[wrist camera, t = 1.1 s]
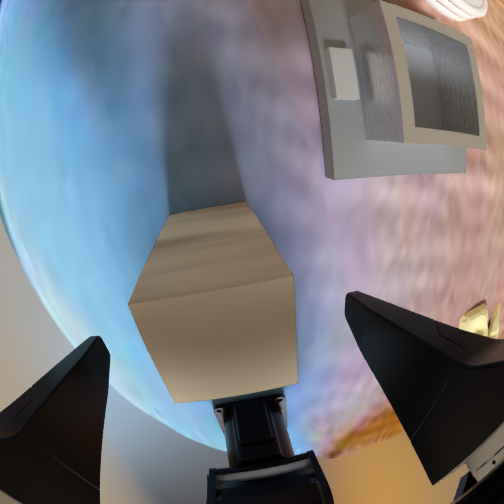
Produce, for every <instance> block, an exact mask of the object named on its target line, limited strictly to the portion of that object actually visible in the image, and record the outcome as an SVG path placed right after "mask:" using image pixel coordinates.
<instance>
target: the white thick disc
mask: <svg viewBox="0 0 504 504" xmlns="http://www.w3.org/2000/svg"><path fill="white" fill-rule="evenodd" d="M424 1H425V2H426V3H428V4H429V5H430V6H431V7H432V8H434V9H435V10H436V11H438V12H439V13H441V14H442V15H444V16H446V17H447V18H450V19H452V20H456V21H465V20H467V19H473V18H475V17H478V18H479V17H483V16H484V15H485V14H486V13H487V0H424Z"/></svg>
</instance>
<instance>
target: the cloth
mask: <svg viewBox="0 0 504 504" xmlns="http://www.w3.org/2000/svg"><path fill="white" fill-rule="evenodd" d="M501 303H502V302H501ZM501 303H499V304H498V305H497V306H496V308H495V310H494V312H493V314H492V316H491V319H490V326H489V328H488V323H487V322H488V309H487V307H486V304H485V303H483V304H481V305H480V306H477V307H476V308H474V309H472V310H470V311H468V312H467V313H465V314H464V315H463V316H462V318H461V320H460V324H459V329H462V330H465V331H469V332H472V333H476V334H479V335H483V336H487V337H490V338H494V339H497V337H498V332H499V315H500V309H501Z"/></svg>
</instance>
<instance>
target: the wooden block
mask: <svg viewBox="0 0 504 504" xmlns="http://www.w3.org/2000/svg"><path fill="white" fill-rule="evenodd" d="M128 306H129V308H130V311H131V313H132V316H133V318H134V320H135V323H136V325H137V327H138V330H139V332H140V334H141V336H142V339H143V341H144V343H145V345H146V347H147V349H148V352H149V354H150V356H151V358H152V360H153V362H154V364H155V366H156V368H157V370H158V372H159V374H160V376H161V378H162V380H163V381H164V383H165V385H166V387H167V389H168V391H169V393H170V394H171V396H172V398H173V400H174V401H175V403H185V402H195V401H204V400H212V399H219V398H226V397H232V396H238V395H244V394H250V393H255V392H260V391H265V390H270V389H275V388H279V387H284V386H288V385H292V384H296V383H298V374H297V339H296V315H295V295H294V278H293V274H292V273H291V271H290V270H289V268H288V266H287V265H286V263H285V261H284V260H283V258H282V257H281V255H280V253H279V252H278V250H277V249H276V247H275V245H274V244H273V242H272V240H271V239H270V237H269V236H268V234H267V232H266V231H265V229H264V228H263V226H262V225H261V223H260V221H259V220H258V218H257V217H256V215H255V213H254V212H253V210H252V209H251V207H250V206H249V204H248V202H247V201H244V202H238V203H232V204H226V205H220V206H214V207H208V208H203V209H197V210H192V211H187V212H181V213H176V214H171V215H169V216H168V218H167V220H166V222H165V224H164V226H163V228H162V230H161V232H160V234H159V236H158V238H157V240H156V243H155V245H154V247H153V249H152V251H151V253H150V255H149V257H148V259H147V262H146V264H145V266H144V268H143V270H142V273H141V275H140V277H139V279H138V282H137V284H136V286H135V289H134V291H133V293H132V296H131V298H130V301H129V303H128Z"/></svg>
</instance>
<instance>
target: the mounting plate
mask: <svg viewBox="0 0 504 504" xmlns="http://www.w3.org/2000/svg"><path fill="white" fill-rule="evenodd" d="M300 1H301V5H302V9H303V14H304V19H305V23H306V28H307V33H308V38H309V43H310V49H311V55H312V60H313V66H314V73H315V79H316V86H317V93H318V101H319V109H320V117H321V126H322V136H323V147H324V158H325V172H326V177H327V178H330V179H333V180H341V179H352V178H364V177H377V176H393V175H412V174H441V173H466V147H458V146H447V145H434V144H416V143H399V142H389V141H377V140H366V135H365V123H364V113H363V105H362V96H361V89H360V82H359V76H358V69H357V64H356V58H355V53H354V48H353V43H352V38H351V33H350V29H349V25H348V20H349V19H350V18H352V17H353V16H355V15H356V14H358V13H359V12H361V11H362V10H364V9H365V8H367V7H369V6H370V5H372V4H373V3H375V2H376V1H373V0H300ZM403 47H404V51H405V56H406V61H407V67H408V72H409V78H410V85H411V92H412V100H413V109H414V119H415V127H419V128H429V129H437V130H442V120H441V109H440V100H439V92H438V85H437V78H436V72H435V67H434V62H433V57H432V52H431V51H428V50H425V49H422V48H419V47H416V46H412V45H409V44H405V43H403Z"/></svg>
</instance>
